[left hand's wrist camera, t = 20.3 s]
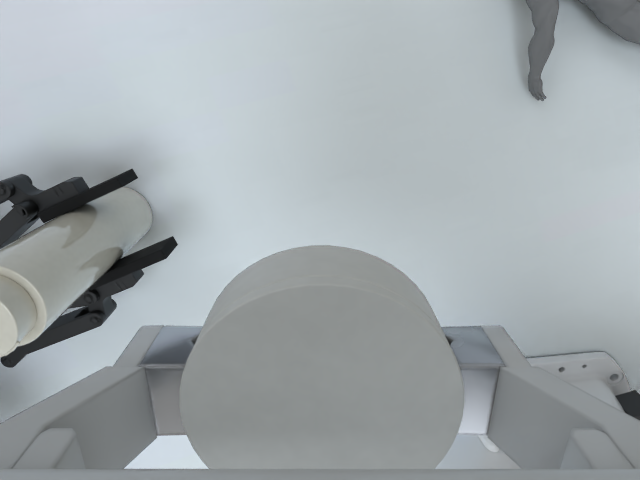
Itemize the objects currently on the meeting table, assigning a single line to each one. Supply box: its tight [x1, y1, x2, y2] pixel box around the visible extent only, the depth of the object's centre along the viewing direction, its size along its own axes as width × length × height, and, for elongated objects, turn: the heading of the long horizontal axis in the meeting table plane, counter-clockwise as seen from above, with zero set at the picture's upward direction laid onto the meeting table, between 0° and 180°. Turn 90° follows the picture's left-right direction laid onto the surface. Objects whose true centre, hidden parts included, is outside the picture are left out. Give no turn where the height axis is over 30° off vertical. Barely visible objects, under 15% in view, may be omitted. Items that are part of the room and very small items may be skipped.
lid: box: [180, 246, 465, 469], centre depth 9 cm, size 6×6×2 cm
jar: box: [0, 187, 153, 357], centre depth 30 cm, size 5×5×18 cm
